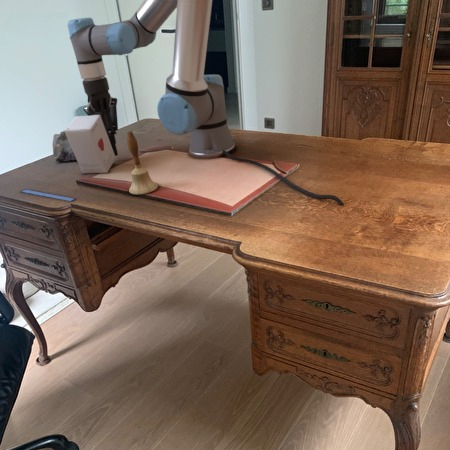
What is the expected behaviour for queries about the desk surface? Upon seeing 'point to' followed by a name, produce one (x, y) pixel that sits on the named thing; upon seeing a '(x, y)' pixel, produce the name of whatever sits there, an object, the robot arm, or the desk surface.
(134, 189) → the hand bell
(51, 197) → the tape line
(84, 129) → the rectangular carton
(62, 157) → the mineral rock
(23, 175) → the desk surface
